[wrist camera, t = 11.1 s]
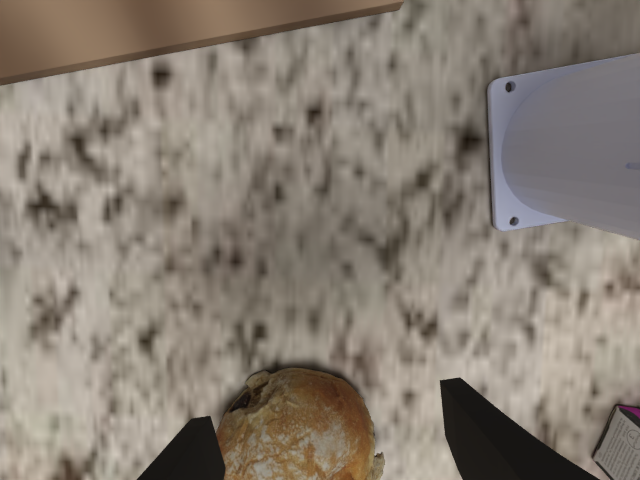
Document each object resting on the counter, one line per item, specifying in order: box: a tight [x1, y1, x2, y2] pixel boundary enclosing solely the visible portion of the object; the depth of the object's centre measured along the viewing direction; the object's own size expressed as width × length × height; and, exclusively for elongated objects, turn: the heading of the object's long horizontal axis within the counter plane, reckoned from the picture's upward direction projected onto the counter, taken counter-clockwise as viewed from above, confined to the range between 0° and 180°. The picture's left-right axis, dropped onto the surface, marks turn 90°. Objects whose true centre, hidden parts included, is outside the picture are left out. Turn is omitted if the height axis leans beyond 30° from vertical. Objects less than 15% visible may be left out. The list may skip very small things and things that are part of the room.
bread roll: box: [216, 368, 385, 480], centre depth 21 cm, size 10×10×8 cm
